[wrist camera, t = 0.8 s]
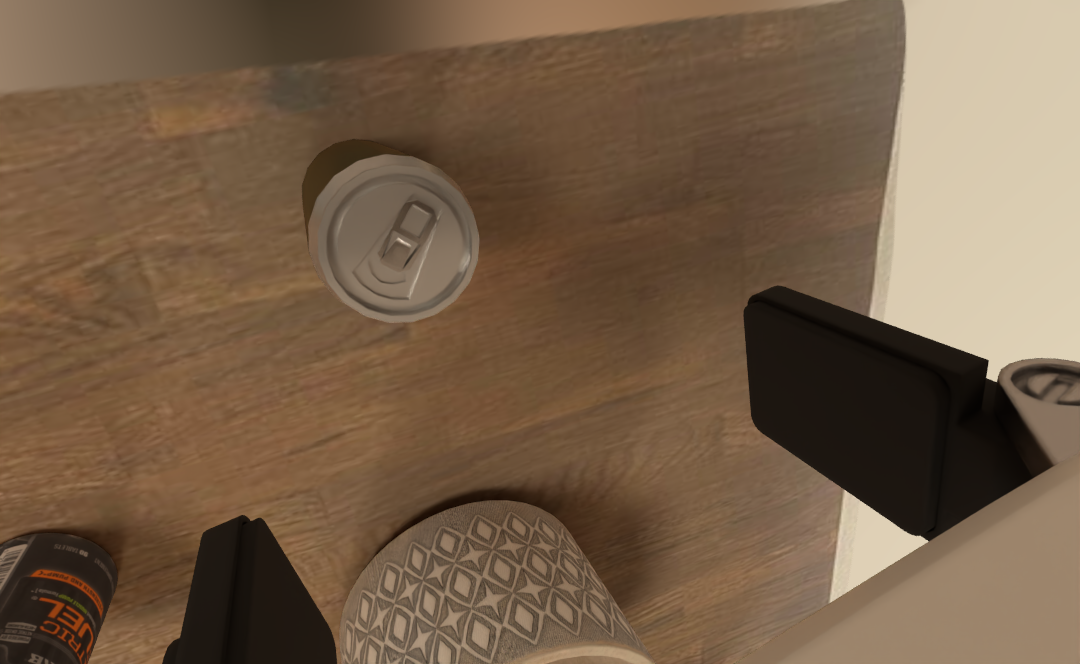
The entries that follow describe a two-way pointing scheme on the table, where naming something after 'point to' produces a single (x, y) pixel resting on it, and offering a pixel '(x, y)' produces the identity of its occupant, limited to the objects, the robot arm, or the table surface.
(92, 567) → the pill bottle
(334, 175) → the guarana soda can
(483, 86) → the table surface
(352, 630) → the planter
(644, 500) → the table surface
